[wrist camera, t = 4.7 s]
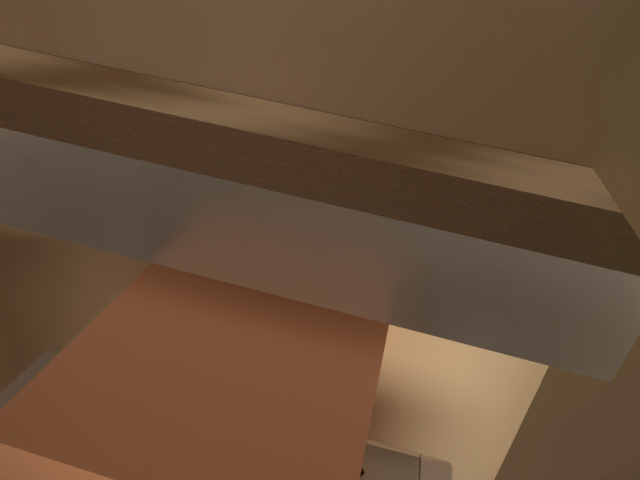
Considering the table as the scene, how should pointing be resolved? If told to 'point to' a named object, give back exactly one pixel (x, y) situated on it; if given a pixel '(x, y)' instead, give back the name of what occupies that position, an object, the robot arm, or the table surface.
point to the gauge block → (199, 389)
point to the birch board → (401, 344)
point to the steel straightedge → (325, 227)
